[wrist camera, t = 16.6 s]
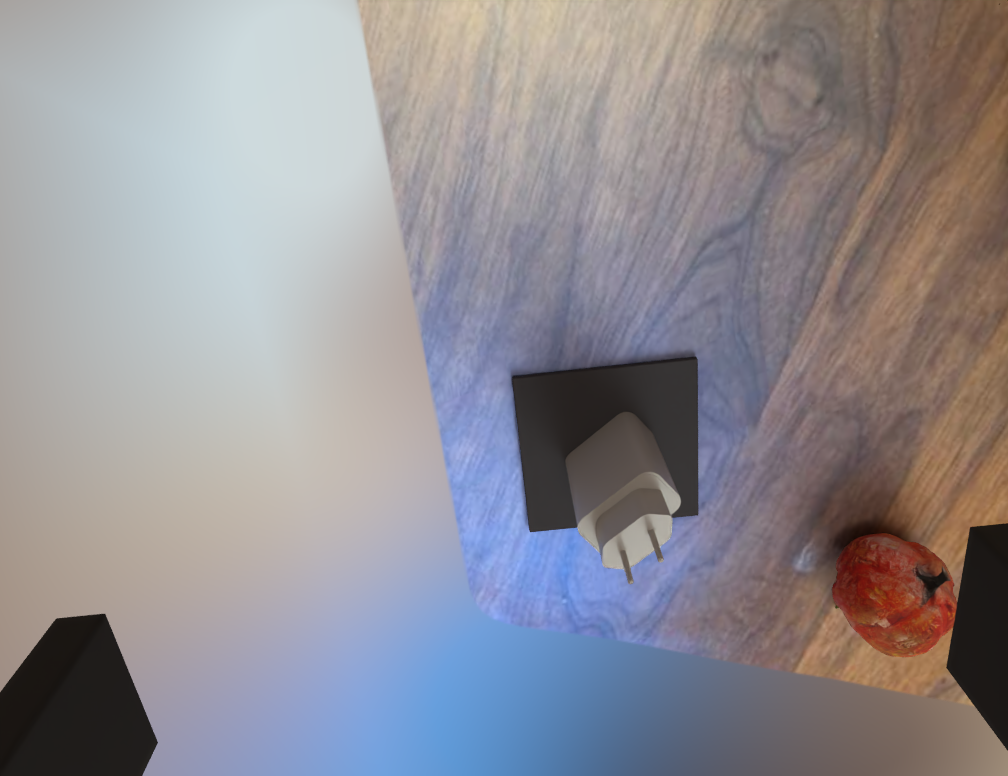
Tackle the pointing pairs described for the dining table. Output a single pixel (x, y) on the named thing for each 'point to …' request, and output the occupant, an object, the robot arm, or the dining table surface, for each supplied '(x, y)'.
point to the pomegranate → (894, 594)
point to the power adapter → (622, 493)
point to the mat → (587, 408)
